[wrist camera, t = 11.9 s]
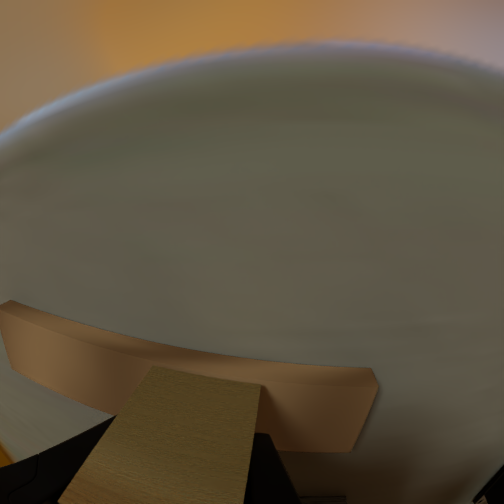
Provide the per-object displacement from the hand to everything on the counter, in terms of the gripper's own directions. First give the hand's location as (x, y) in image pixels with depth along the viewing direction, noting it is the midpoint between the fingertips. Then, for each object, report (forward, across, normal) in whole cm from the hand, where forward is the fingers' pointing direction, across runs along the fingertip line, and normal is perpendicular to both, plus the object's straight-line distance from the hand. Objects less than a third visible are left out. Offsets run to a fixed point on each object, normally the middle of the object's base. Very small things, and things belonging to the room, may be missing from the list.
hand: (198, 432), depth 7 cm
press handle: (+1, 0, 0) cm, 1 cm away
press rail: (+2, +2, 0) cm, 3 cm away
